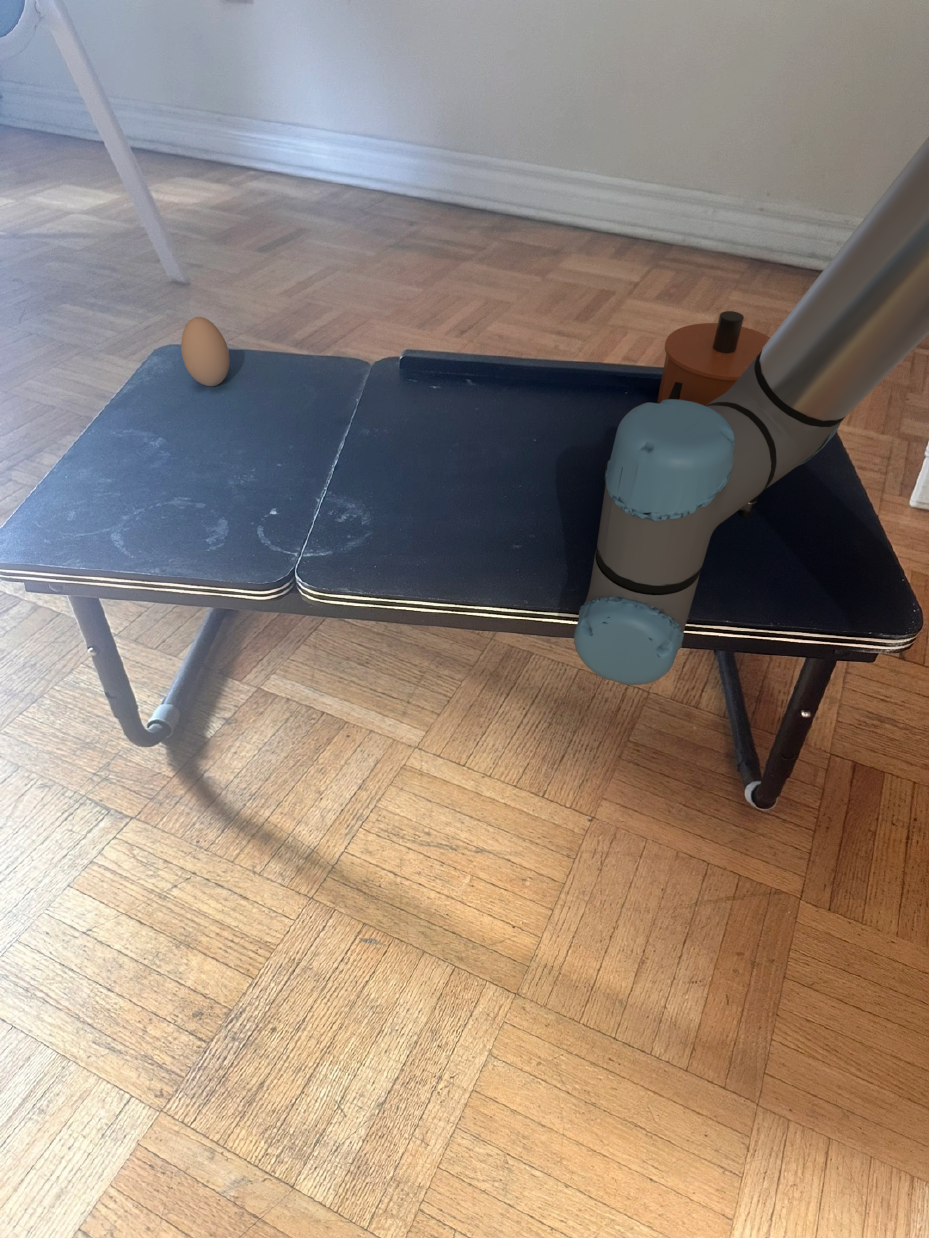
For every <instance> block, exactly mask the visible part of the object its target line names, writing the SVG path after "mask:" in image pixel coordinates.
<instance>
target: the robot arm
mask: <svg viewBox="0 0 929 1238" xmlns="http://www.w3.org/2000/svg"><path fill="white" fill-rule="evenodd" d="M928 336H929V136H927V138H925V140H924V141H923V143H922V144H921V145H920V146H919V148H918V149H917V150H916V152H915V153H914V154H913V156H912V157H911V158H910V160H909V161H908V162H907V164H905V166H904V167H903V168H902V170H901V171H900V172H899V173H898V175H897V176H896V177H895V178H894V180H893V181H892V183H890V185H889V186H888V187H887V188H886V190H885V191H884V193H883V194H882V195H881V196H880V198H879V199H878V200H877V202H876V203H875V204H874V205H873V206H872V208H871V209H870V210H869V211H868V213H867V214H866V215H865V217H864V218H863V220H861V222H860V223H859V224H858V225H857V227H856V228H855V229H854V231H853V232H852V233H851V235H850V236H849V237H848V238H847V240H846V241H844V244H843V245H842V246H841V247H840V248H839V250H838V251H837V253H836V254H835V255H834V256H833V258H831V260H830V261H829V263H828V264H827V265H826V266H825V268H824V269H823V270H822V271H821V273H820V274H819V276H818V277H817V278H816V279H815V281H814V282H813V283H812V284H811V286H810V287H809V288H808V290H807V291H806V292H805V293H804V294H803V295H802V297H801V298H800V300H799V301H798V302H797V303H796V305H794V307H793V309H792V310H791V311H790V312H789V314H787V316H786V317H785V319H783V321H782V323H780V325H779V326H778V328H777V329H776V330H775V331H774V333H773V334H772V335H771V336H770V339H769V340H768V342H767V343H766V344H765V346H764V347H763V349H762V351H761V352H760V353H759V354H758V355H757V357H756V358H755V359H754V360H753V361H752V363H751V364H750V365H749V366H748V368H747V369H746V370H745V371H744V373H743V374H742V375H741V376H740V378H739V379H738V380H737V381H736V383H735V384H734V385H733V386H732V387H731V388H730V389H729V390H728V391H727V392H726V393H724V394H723V395H721V396H720V397H718V398H716V399H715V400H713V401H712V402H710V403H708V404H707V405H705V406H704V405H701V404H698V403H695V402H690V401H685V400H679V398H680V394H681V389H682V384H683V383H679V382H675V384H674V386H673V389H672V391H671V394H670V396H669V398H668V399H667V400H663V401H662V402H644V403H642V404H640V405H637V406H635V407H634V408H632V409H631V410H630V411H628V412H627V413H626V414H625V415H624V417H622V418H621V421H620V422H619V424H618V426H617V429H616V433H615V436H614V437H615V438H614V441H613V446H612V450H611V454H610V457H609V458H608V459H607V460H606V463H605V470H604V475H603V481H602V485H603V487H604V493H603V500H602V507H601V508H602V509H601V515H600V523H599V529H598V536H597V543H596V549H595V552H594V559H593V564H592V571H591V578H590V583H589V587H588V593H587V596H586V598H585V601H584V604H583V605H581V606H580V608H579V611H578V620H577V622H576V627H575V629H574V632H573V643H574V644H573V645H574V647H575V650H576V651H575V652H576V653H577V655H578V657H579V659H580V660H581V662H582V663H583V664H584V665H585V666H586V667H587V668H588V669H589V670H591V671H592V672H593V673H594V674H595V675H597V676H599V677H601V678H603V679H605V680H607V681H614V682H616V683H620V684H622V685H627V686H643V685H647V684H651V683H654V682H656V681H658V680H660V679H661V678H663V677H664V676H665V675H667V674H668V673H669V672H670V670H671V669H672V667H673V665H674V663H675V660H676V658H677V655H678V652H679V650H681V648H682V647H683V641H684V637H685V635H684V634H685V633H684V632H685V629H686V625H687V622H688V619H689V615H690V612H691V608H692V604H693V600H694V597H695V594H696V590H697V586H698V582H699V578H700V574H701V571H702V568H703V566H704V561H705V558H706V554H707V552H708V551H707V550H708V548H709V543H710V540H711V537H712V534H713V533H714V531H715V530H716V529H717V527H718V526H720V524H722V523H724V522H725V521H726V520H727V519H729V518H731V516H733V515H734V514H735V513H737V515H738V516H739V517H740V518H742V519H751V518H752V517H753V514H754V512H755V508H756V506H757V502H758V498H759V496H760V495H762V493H764V492H765V490H767V489H768V488H769V487H771V486H772V485H774V484H775V483H776V482H777V481H779V480H781V479H782V478H783V477H784V476H786V475H787V474H789V473H790V472H791V471H793V470H795V468H797V467H799V466H801V465H803V464H805V463H806V462H808V461H809V460H811V459H812V458H813V457H815V456H816V454H818V453H819V452H820V451H821V450H822V449H823V448H824V447H825V446H826V445H827V444H828V443H829V441H830V440H832V438H834V436H835V435H836V433H837V432H838V430H839V428H840V426H841V423H842V422H843V421H844V420H845V418H846V417H847V416H848V415H849V414H850V413H851V412H853V410H855V408H856V407H858V405H859V404H861V402H862V401H863V400H864V399H866V397H867V396H868V395H869V394H870V393H872V391H873V390H875V389H876V387H878V385H879V384H880V383H882V381H883V380H885V379H886V378H887V376H889V375H890V373H891V372H893V371H894V370H895V368H897V366H899V364H901V363H902V361H904V360H905V359H906V357H907V356H908V355H910V353H912V351H913V350H915V349H916V348H917V346H918V345H919V344H921V342H923V341H924V340H925V339H926V338H927V337H928Z"/></svg>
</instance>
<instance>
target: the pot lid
mask: <svg viewBox="0 0 929 1238" xmlns="http://www.w3.org/2000/svg"><path fill="white" fill-rule="evenodd" d="M744 318H745V317H744V315H743V314H742V313H740V312H738V311H734V310H726V311H722V312H720V314H719V317H718V321H717V322H716V323H715V322H703V323H695V324H689V325H685V326H682V327H679V328H677V329H675V330H673V331H672V332H671V333H670V334H669V335H668V336H667V338H666V339H665V342H664V352H665V355H666V354H667V356H668V357H669V359H670V360H671V361H672V362H674V363H675V364H676V365H678V366H679V367H681V368H683V369H685V370H687V371H689V372H692V373H694V374H697V375H700V376H704V377H708V378H713V379H720V380H730V381H737V380H738V379H739V378H740V376H741V375H742V374H743V373H744V371H745V370H746V369H747V368H748V366H749V365H750V364H751V363H752V361H753V360H754V359H755V358H756V357H757V355H758V354H759V353H760V352H761V351H762V349H763V347H764V346H765V344H766V343H767V342H768V340H769V339H770V338H771V336H768V335H767V334H764V333H762V332H760V331H758V330H755V329H752V328H749V327H746V326H743V323H744Z"/></svg>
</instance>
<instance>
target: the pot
mask: <svg viewBox="0 0 929 1238" xmlns="http://www.w3.org/2000/svg"><path fill="white" fill-rule="evenodd" d="M675 382H679V383H683V384H682V389H681V394H680V398H679V400H685V401H690V402H695V403H698V404H701V405H704V406H705V405H707V404H708V403H710V402H712V401H713V400H715V399H716V398H718V397H720V396H721V395H723V394H724V393H726V392H727V391H728V390H729V389H730V388H731V387H732V386H733V385H734V384H735V383H736V381H730V380H720V379H713V378H708V377H704V376H700V375H697V374H694V373H692V372H689V371H687V370H685V369H683V368H681V367H679V366H678V365H676V364H675V363H674V362H672V361H671V360H670V359H669V357H668V356H667V354H666V353H665V357H664V365H663V368H662V374H661V380H660V385H659V389H658V390H659V391H658V396H657V402H662V401H663V400H667V399H668V398H669V396H670V394H671V391H672V389H673V386H674V384H675ZM657 402H656V403H657Z"/></svg>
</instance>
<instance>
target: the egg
mask: <svg viewBox="0 0 929 1238" xmlns="http://www.w3.org/2000/svg"><path fill="white" fill-rule="evenodd" d="M180 350H181V351H180V352H181V355H182V360H183V364H184V366H185V367H184V368H185V369H186V370H187V372H188V373H189V375H190V376H191V378H193V379H194V380H195V381H196V382H197V383H199V384H201V385H203V386H206V387H215V386H218V385H219V384H221V383H222V382H223V381H224V380H225V379H226V377H227V375H228V372H229V370H230V366H231V365H230V363H231V358H230V357H231V356H230V352H229V347H228V344H227V341H226V340H225V338H224V336H223V333H221V331H220V329H218V327H217V326H216V325H215V324H214V323H213V322H212V321H211V320H210V319H208V318H206V317H203V316H195V317H193V318H190V319H189V320H188V322H186V324H185V326H184V328H183V331H182V335H181V341H180Z"/></svg>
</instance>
